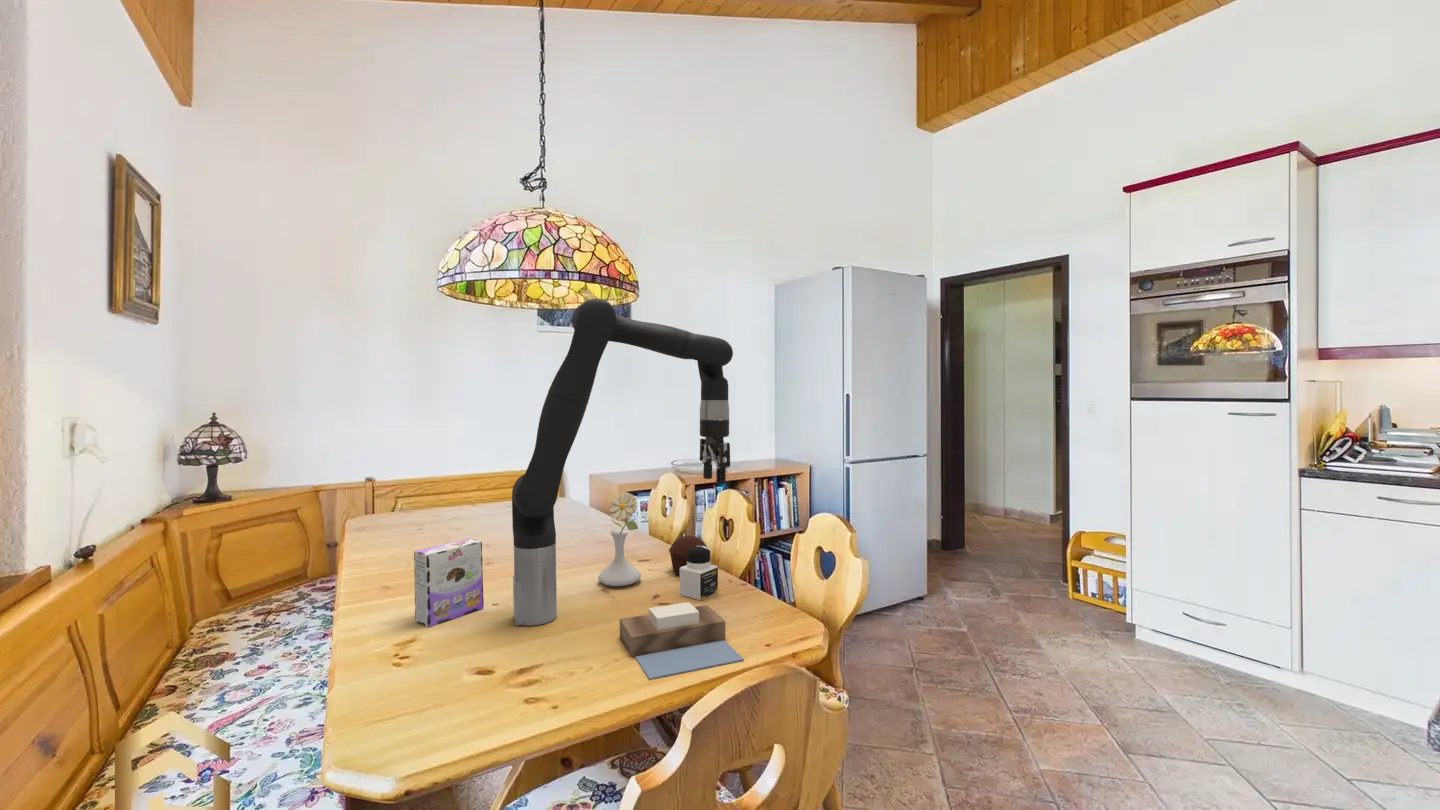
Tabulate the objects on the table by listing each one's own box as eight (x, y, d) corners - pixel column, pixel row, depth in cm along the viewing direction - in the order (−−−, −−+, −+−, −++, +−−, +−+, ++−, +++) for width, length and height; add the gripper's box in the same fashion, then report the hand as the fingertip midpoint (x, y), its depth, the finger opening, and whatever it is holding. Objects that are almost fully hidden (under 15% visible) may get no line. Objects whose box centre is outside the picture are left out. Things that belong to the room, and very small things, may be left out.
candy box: (470, 603, 147) (469, 536, 147) (484, 609, 144) (483, 540, 143) (414, 622, 136) (412, 549, 136) (428, 628, 133) (426, 553, 132)
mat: (649, 679, 109) (649, 678, 109) (635, 657, 118) (635, 656, 118) (743, 660, 117) (743, 659, 117) (724, 641, 126) (724, 640, 126)
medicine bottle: (700, 601, 149) (700, 553, 149) (679, 595, 153) (678, 548, 153) (718, 593, 155) (718, 546, 154) (696, 587, 159) (696, 542, 159)
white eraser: (657, 630, 121) (657, 618, 121) (648, 620, 127) (648, 608, 127) (699, 623, 125) (699, 611, 125) (688, 613, 130) (688, 602, 130)
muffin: (671, 565, 178) (671, 532, 178) (709, 566, 178) (709, 532, 178) (667, 578, 166) (666, 542, 166) (707, 579, 166) (707, 542, 166)
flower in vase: (589, 583, 163) (588, 490, 162) (623, 573, 171) (622, 485, 170) (619, 594, 154) (619, 497, 153) (653, 583, 162) (653, 491, 161)
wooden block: (632, 657, 118) (632, 637, 118) (619, 637, 128) (619, 619, 127) (725, 640, 126) (725, 621, 126) (707, 622, 135) (707, 605, 135)
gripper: (690, 416, 159) (690, 478, 159) (711, 419, 146) (711, 486, 146) (716, 416, 162) (716, 476, 162) (739, 419, 149) (739, 484, 149)
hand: (714, 481), depth 154 cm, fingers open, 8 cm apart
